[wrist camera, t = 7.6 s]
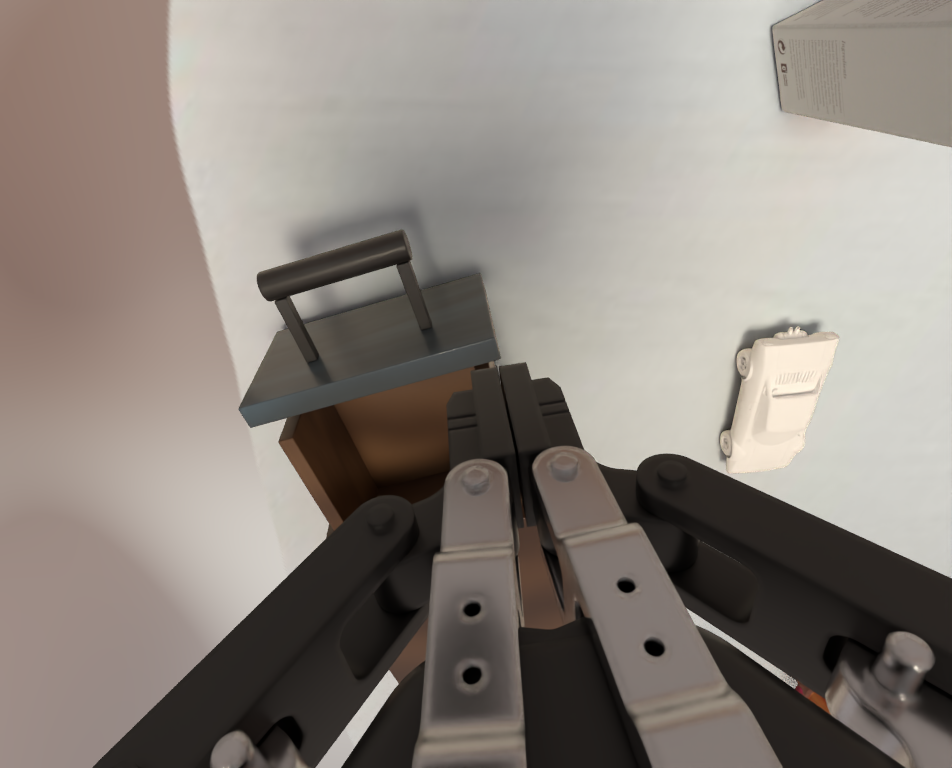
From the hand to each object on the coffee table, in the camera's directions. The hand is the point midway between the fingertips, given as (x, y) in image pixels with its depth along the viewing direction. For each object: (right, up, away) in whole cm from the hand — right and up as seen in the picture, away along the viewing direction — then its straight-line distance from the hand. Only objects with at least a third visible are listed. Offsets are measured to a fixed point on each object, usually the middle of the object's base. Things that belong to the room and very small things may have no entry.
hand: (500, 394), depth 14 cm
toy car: (+20, 0, +24) cm, 31 cm away
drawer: (-5, +2, +19) cm, 20 cm away
